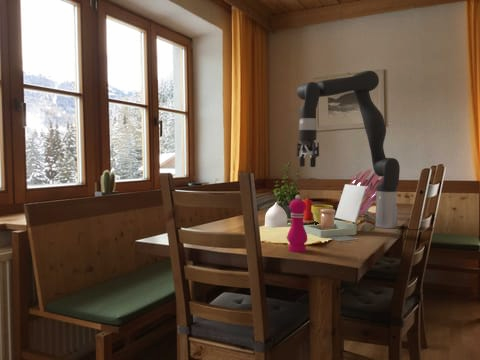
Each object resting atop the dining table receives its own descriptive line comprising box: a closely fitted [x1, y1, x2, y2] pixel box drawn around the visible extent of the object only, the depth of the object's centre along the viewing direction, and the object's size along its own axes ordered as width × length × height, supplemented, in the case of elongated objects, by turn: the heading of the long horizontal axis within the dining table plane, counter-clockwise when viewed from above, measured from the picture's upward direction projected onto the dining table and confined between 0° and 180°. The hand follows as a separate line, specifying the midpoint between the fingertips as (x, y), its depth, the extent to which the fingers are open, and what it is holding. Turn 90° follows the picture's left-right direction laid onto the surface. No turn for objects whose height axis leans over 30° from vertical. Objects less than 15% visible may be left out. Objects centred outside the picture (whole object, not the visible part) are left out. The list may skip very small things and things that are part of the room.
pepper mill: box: [286, 194, 308, 253], centre depth 153 cm, size 7×7×20 cm
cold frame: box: [303, 183, 367, 238], centre depth 183 cm, size 23×14×21 cm, turn 114°
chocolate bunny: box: [357, 210, 377, 233], centre depth 190 cm, size 6×8×10 cm
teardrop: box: [264, 201, 289, 228], centre depth 205 cm, size 11×11×12 cm
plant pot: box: [310, 204, 334, 224], centre depth 206 cm, size 10×10×10 cm
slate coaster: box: [326, 235, 359, 244], centre depth 171 cm, size 9×9×1 cm
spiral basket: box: [347, 168, 383, 218], centre depth 239 cm, size 28×28×27 cm
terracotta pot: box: [320, 208, 336, 230], centre depth 183 cm, size 6×6×10 cm
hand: (307, 166), depth 185 cm, fingers open, 8 cm apart
